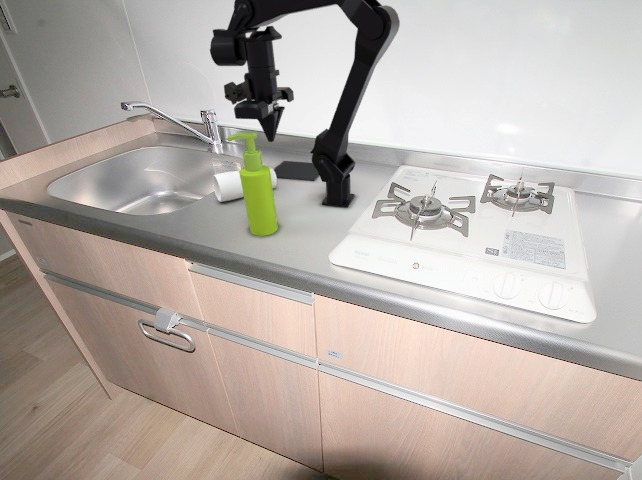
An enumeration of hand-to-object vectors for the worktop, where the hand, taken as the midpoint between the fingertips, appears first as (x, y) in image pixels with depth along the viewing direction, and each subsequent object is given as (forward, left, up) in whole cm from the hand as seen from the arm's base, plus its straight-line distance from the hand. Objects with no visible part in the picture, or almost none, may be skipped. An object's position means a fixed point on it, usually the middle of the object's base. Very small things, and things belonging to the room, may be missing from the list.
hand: (271, 141), depth 85 cm
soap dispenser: (-18, -4, -13) cm, 23 cm away
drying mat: (+15, +1, -13) cm, 20 cm away
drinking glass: (+3, +2, -10) cm, 11 cm away
